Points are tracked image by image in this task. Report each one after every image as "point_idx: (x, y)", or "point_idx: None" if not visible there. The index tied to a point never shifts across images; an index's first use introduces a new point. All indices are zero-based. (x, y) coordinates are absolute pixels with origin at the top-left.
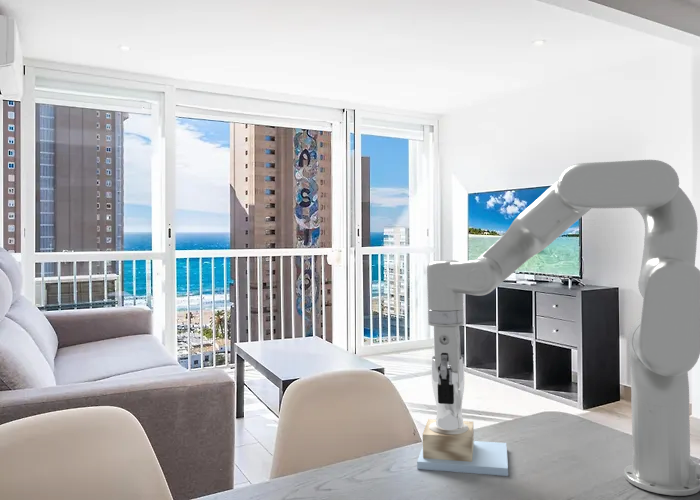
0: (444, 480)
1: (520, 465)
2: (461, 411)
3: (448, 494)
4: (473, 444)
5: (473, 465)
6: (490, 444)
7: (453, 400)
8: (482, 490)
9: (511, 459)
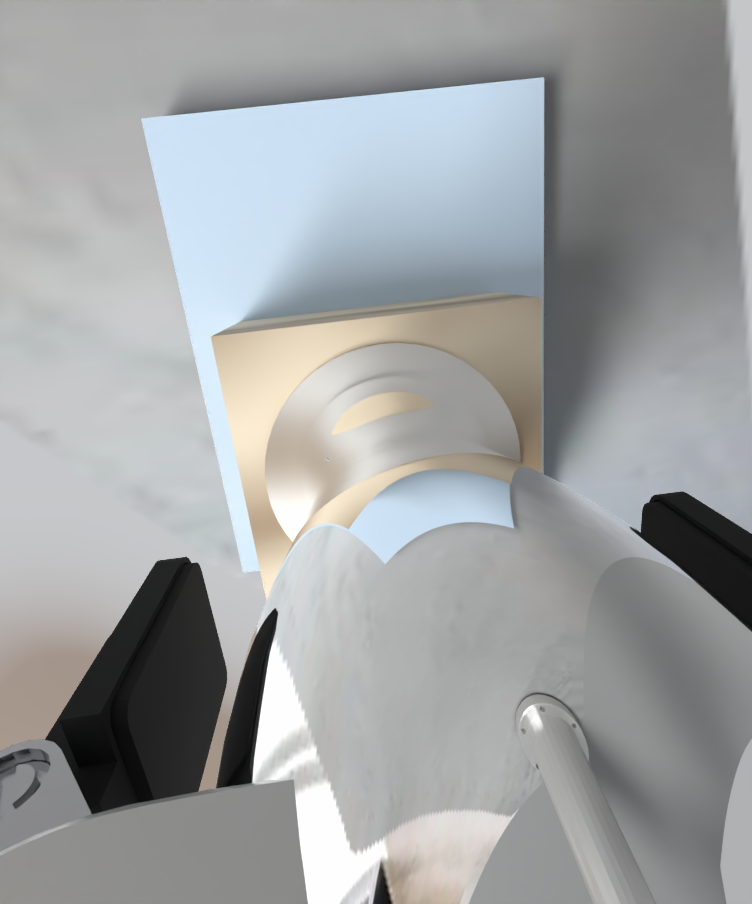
0: (623, 389)
1: (367, 23)
2: (416, 418)
3: (749, 347)
4: (284, 317)
5: (540, 277)
6: (209, 222)
7: (699, 502)
8: (701, 209)
9: (295, 87)
